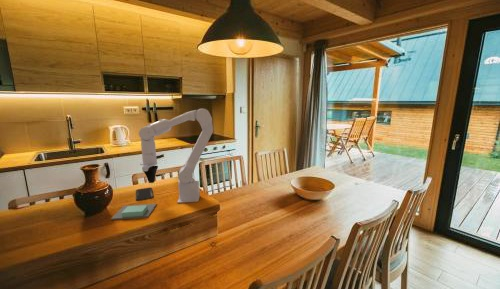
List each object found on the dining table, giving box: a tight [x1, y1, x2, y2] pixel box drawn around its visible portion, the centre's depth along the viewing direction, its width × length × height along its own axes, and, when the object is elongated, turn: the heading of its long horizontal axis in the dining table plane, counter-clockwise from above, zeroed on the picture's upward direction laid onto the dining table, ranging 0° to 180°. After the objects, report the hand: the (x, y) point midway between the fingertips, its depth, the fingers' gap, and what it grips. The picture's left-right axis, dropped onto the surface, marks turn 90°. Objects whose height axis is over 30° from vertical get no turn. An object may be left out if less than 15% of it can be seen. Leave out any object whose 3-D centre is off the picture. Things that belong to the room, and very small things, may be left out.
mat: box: [110, 203, 157, 221], centre depth 98 cm, size 14×12×1 cm
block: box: [122, 204, 148, 217], centre depth 95 cm, size 8×2×6 cm
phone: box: [135, 187, 154, 202], centre depth 118 cm, size 8×1×15 cm
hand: (151, 182), depth 105 cm, fingers closed
